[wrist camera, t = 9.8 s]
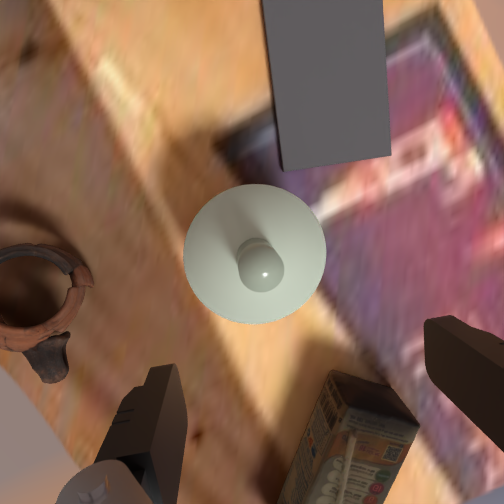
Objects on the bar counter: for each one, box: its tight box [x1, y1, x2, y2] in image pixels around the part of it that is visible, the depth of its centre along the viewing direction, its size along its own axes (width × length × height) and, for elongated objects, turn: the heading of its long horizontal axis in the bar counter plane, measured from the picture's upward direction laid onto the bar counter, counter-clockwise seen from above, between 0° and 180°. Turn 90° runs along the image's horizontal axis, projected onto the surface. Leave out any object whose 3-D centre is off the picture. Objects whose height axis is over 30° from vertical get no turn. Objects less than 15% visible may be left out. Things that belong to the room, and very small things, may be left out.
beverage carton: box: [277, 370, 420, 504], centre depth 35 cm, size 8×19×7 cm, turn 161°
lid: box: [183, 184, 326, 324], centre depth 25 cm, size 11×11×5 cm
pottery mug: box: [0, 243, 94, 384], centre depth 30 cm, size 12×10×8 cm
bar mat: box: [262, 0, 391, 172], centre depth 30 cm, size 14×10×1 cm
